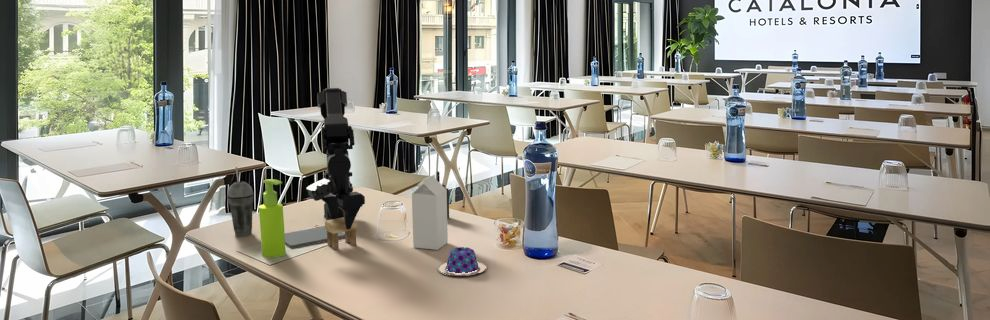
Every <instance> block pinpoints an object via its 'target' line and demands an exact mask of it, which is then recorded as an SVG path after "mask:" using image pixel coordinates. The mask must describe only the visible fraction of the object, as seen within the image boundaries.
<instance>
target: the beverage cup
mask: <svg viewBox="0 0 990 320" xmlns="http://www.w3.org/2000/svg"><path fill="white" fill-rule="evenodd" d="M238 170H239V169H238V166H235V174H236V181H235V182H233V183H232V184H231V185H230V186H229V187H228V189H227V195H226V198H227V202H228V205H229V209H230V214H231V219H232V220H231V221H232V227H233V231H234V236H235V237H237V238H245V237H249V236H251V235H252V231H253V202H254V195H255V194H254V191H253V188H252V186H251V184H249V183H248V182H246V181H243V180H241V181H240V177H239V171H238Z"/></svg>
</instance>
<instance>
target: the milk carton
mask: <svg viewBox="0 0 990 320" xmlns="http://www.w3.org/2000/svg"><path fill="white" fill-rule="evenodd" d="M442 185H443V184H441V182H440V183H439V182H438V181H437V178H436V175H435V174H432V175H430V176H427V177H426V178H424V179H423V180H421V181H420V182H418V183H417V187H418V188H417V189H415V190H414V191H413V192H412V193H411V206H412V207H411V213H412V239H413V240H412V243H413V245H412V247H413V248H414V249H415V248H416V249H426V250H433V251H439V250H440V249H441V248H443V247H444V246H445V245H446V244H448V242H449V240H448V236H449V235H448V218H447V190H446V189H445V188H446V187H445V188H444V187H443V186H442Z"/></svg>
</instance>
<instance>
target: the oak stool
mask: <svg viewBox="0 0 990 320" xmlns="http://www.w3.org/2000/svg"><path fill="white" fill-rule="evenodd" d="M324 226H325V230H327V241H326V242H327V246H328V247H331V248H332V249H333V250H339V239H338V233H340V232H342V233H344V234H345V238H344V239H345V241H344V242H345V243H346V244H349V243H350V246H351V247H353V246H357V230H358V220H357V219H355V220H354V222H353V224H352V226H351V229H346V225H345V220H344V217H343V218H337V219H332V220H329V219H326V220H324Z"/></svg>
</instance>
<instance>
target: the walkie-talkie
mask: <svg viewBox="0 0 990 320" xmlns="http://www.w3.org/2000/svg"><path fill="white" fill-rule="evenodd" d="M440 178H441V177H440V171H436V180H437V181H438V182H439V183H440V184H441V182H440V181H441V180H440ZM441 185H442V186H443V187H444V188H445V189H446V190H447V219H449V218H450V193H449V190H450V188H447V187H446V185H445V184H441Z"/></svg>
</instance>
